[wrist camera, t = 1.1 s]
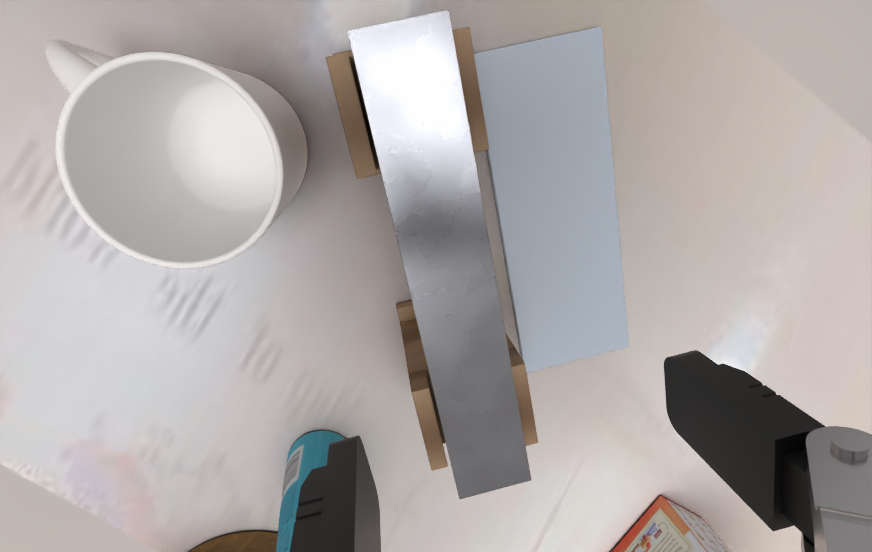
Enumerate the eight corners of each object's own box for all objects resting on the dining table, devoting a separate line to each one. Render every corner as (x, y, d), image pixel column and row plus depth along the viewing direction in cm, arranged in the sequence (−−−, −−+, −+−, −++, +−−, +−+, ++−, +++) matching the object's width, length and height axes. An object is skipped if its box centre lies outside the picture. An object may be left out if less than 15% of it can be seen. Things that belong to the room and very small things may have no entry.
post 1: (333, 55, 30) (318, 30, 20) (433, 34, 30) (464, 0, 20) (363, 174, 32) (362, 201, 22) (455, 153, 32) (493, 171, 23)
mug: (163, -9, 27) (45, -79, 17) (338, 142, 31) (326, 157, 21) (74, 114, 29) (-83, 117, 19) (253, 246, 32) (202, 307, 22)
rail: (350, 44, 22) (347, 30, 18) (434, 26, 22) (448, 9, 19) (447, 449, 29) (459, 499, 26) (510, 433, 30) (531, 480, 26)
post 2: (396, 303, 35) (407, 375, 25) (480, 283, 35) (522, 346, 26) (417, 389, 37) (435, 485, 28) (496, 369, 37) (540, 457, 28)
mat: (470, 54, 30) (472, 53, 30) (597, 27, 31) (601, 26, 30) (523, 369, 38) (525, 373, 37) (624, 343, 38) (628, 346, 38)
